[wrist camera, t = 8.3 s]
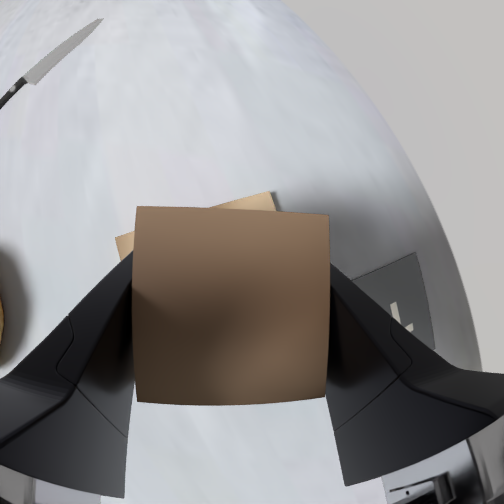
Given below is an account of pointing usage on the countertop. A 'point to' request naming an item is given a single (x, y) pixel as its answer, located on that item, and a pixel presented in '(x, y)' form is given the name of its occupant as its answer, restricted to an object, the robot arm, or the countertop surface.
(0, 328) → the bagel
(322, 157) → the countertop surface
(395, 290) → the gray mat
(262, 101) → the countertop surface
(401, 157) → the countertop surface
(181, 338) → the walnut block
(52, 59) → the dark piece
